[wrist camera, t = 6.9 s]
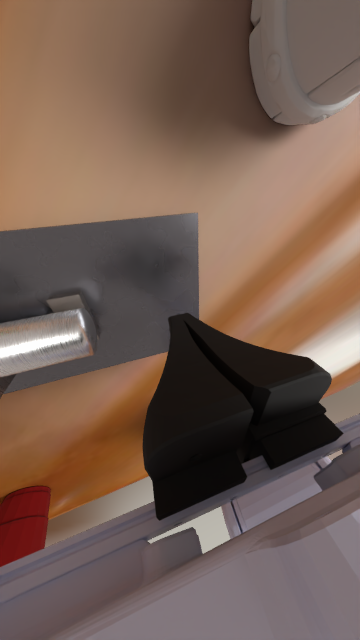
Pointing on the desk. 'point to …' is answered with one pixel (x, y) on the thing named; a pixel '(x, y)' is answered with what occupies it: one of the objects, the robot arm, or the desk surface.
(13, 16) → the desk surface
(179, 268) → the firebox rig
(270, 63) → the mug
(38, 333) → the tube
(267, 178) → the desk surface
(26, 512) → the plastic cup
